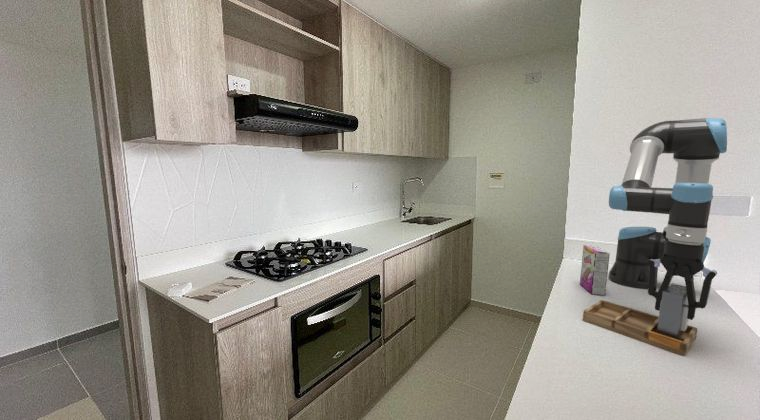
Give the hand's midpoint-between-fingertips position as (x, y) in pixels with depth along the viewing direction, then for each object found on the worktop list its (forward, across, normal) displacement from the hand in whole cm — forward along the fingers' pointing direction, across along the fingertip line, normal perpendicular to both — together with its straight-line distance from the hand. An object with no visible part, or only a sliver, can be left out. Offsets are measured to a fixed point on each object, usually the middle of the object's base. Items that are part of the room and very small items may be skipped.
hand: (672, 325), depth 87 cm
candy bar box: (+4, -27, +24) cm, 37 cm away
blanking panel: (+2, 0, 0) cm, 2 cm away
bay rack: (+4, -7, 0) cm, 8 cm away
